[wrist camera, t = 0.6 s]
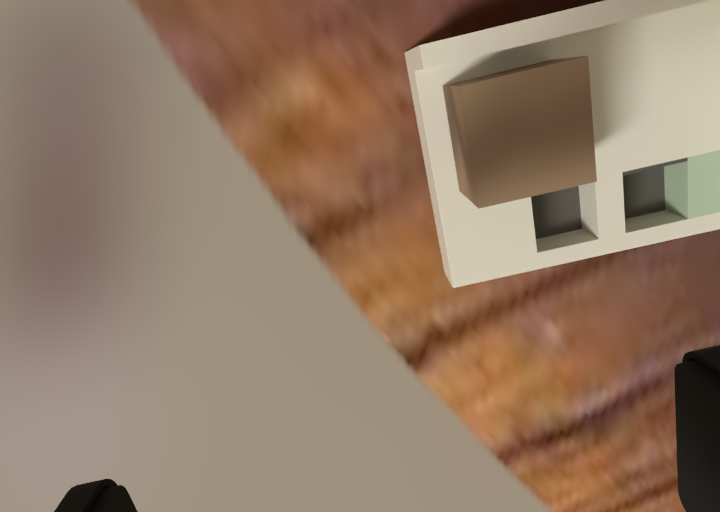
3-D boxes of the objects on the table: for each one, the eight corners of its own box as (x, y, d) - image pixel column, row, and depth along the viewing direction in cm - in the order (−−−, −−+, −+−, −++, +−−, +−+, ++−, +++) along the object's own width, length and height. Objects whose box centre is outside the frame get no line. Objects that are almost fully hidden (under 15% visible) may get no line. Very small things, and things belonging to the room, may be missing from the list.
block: (442, 85, 25) (460, 86, 21) (550, 59, 25) (588, 55, 21) (459, 191, 27) (478, 208, 23) (560, 167, 27) (596, 181, 23)
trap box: (404, 52, 27) (419, 45, 22) (741, -29, 26) (839, -57, 21) (444, 272, 31) (465, 310, 26) (735, 207, 30) (816, 233, 25)
